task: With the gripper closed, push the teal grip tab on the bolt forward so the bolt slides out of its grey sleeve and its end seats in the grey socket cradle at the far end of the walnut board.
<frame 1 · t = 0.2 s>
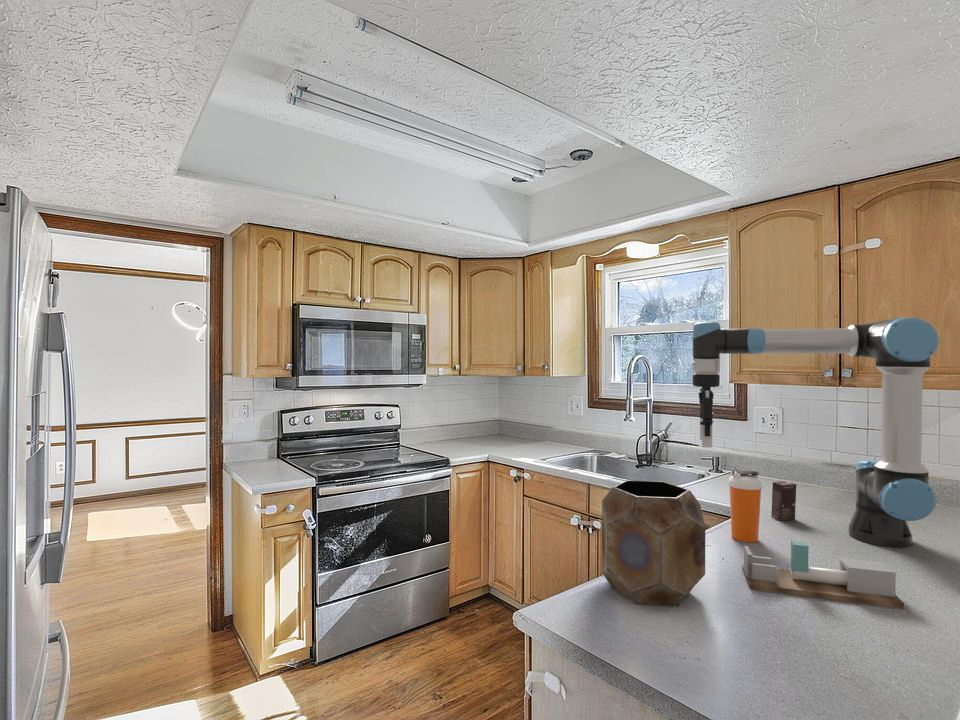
hand: (705, 443, 160), 28 cm above the counter, fingers open, 13 cm apart
shaker bottle: (744, 539, 157), on the counter
sleeve: (866, 593, 121), resting on board
planter: (650, 590, 123), on the counter
board: (816, 587, 124), on the counter
socket: (759, 580, 128), resting on board
bolt: (840, 566, 123), point 6 cm above the counter, slide at 0.0 cm
box: (783, 519, 176), on the counter
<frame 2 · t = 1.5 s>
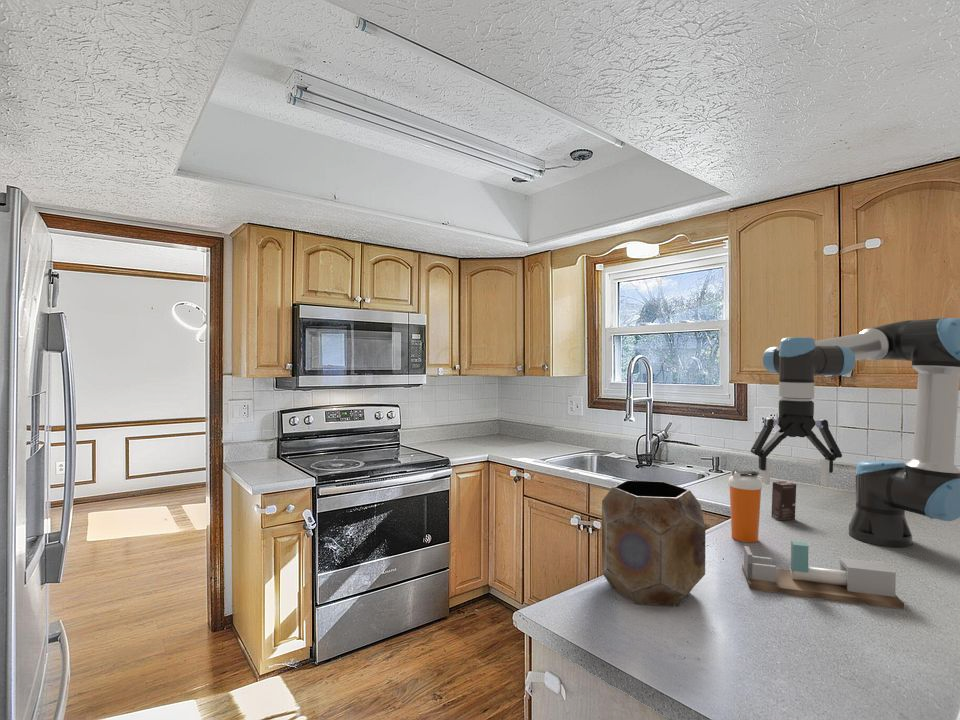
hand: (795, 484, 132), 22 cm above the counter, fingers open, 13 cm apart
nothing on the counter moved.
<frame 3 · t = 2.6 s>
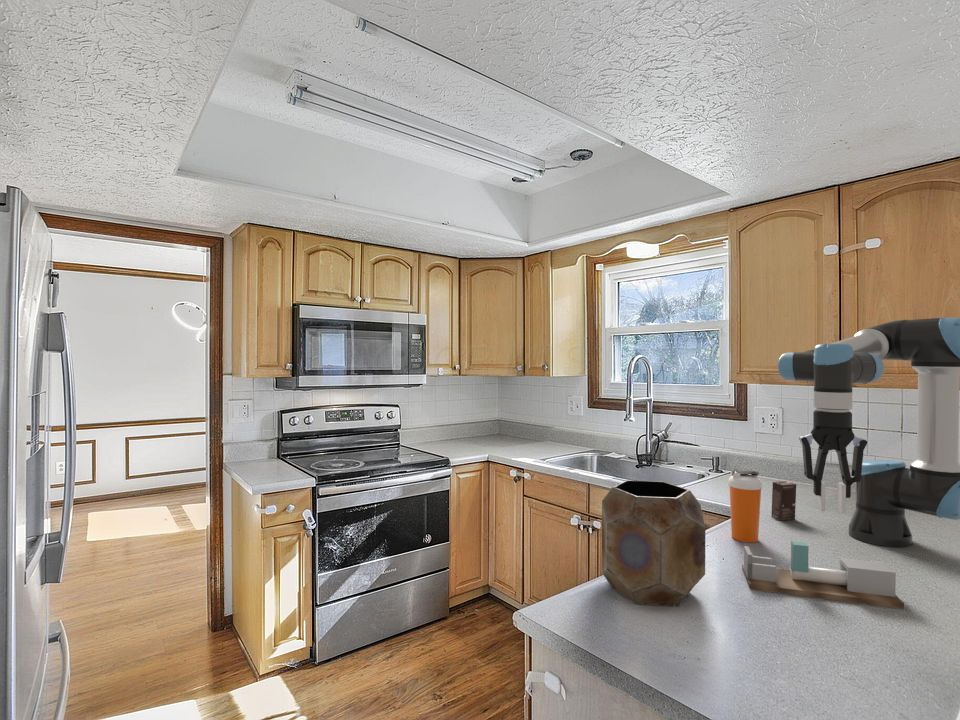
hand: (831, 510, 123), 19 cm above the counter, fingers open, 3 cm apart
nothing on the counter moved.
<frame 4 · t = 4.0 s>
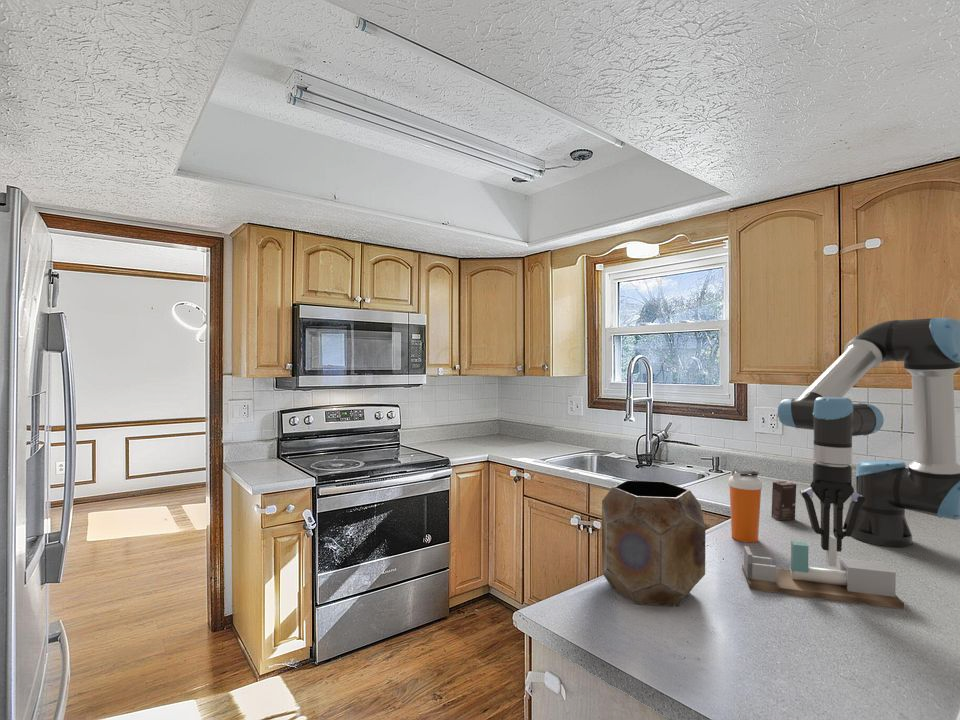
hand: (831, 564, 123), 6 cm above the counter, fingers closed
nothing on the counter moved.
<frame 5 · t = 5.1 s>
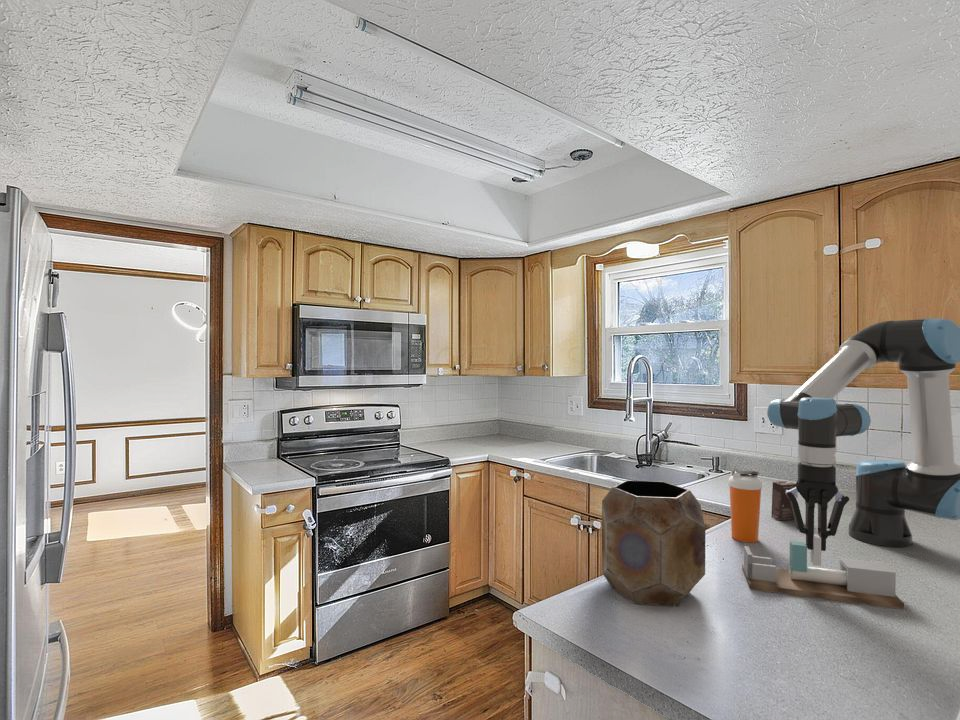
hand: (815, 563, 124), 6 cm above the counter, fingers closed
bolt: (838, 565, 123), point 6 cm above the counter, slide at 0.3 cm, touching gripper
everything else where it was.
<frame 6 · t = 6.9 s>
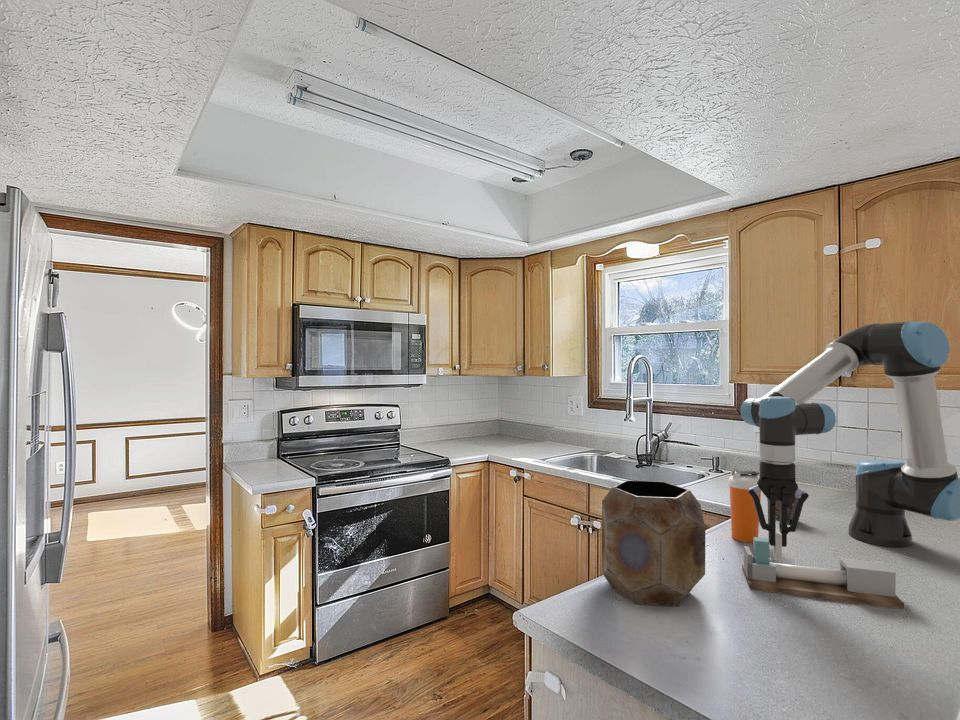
hand: (777, 559, 127), 6 cm above the counter, fingers closed
bolt: (799, 561, 125), point 6 cm above the counter, slide at 8.2 cm, touching gripper
everything else where it was.
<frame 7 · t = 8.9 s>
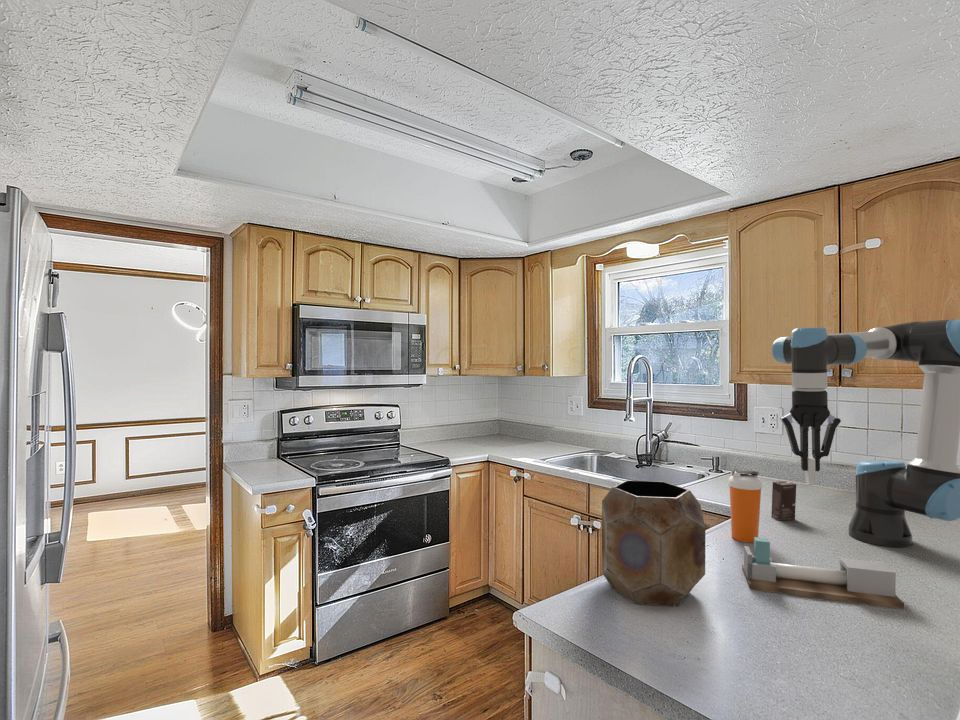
hand: (810, 483, 132), 23 cm above the counter, fingers closed
bolt: (800, 561, 125), point 6 cm above the counter, slide at 8.0 cm
everything else where it was.
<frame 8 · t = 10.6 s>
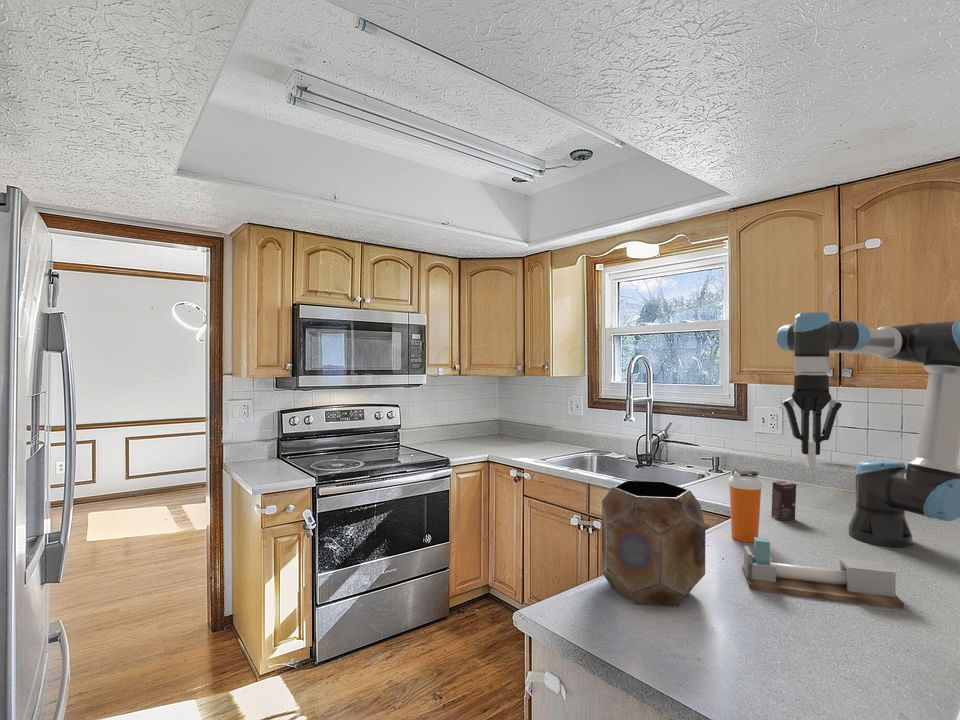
hand: (810, 467, 133), 26 cm above the counter, fingers closed
nothing on the counter moved.
at the end: bolt slide at 8.0 cm; bolt 0.8 cm from the target spot, resting on board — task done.
